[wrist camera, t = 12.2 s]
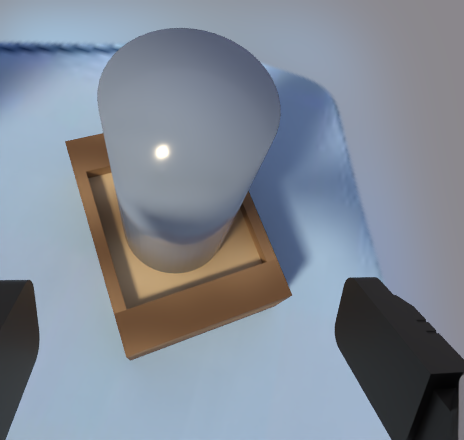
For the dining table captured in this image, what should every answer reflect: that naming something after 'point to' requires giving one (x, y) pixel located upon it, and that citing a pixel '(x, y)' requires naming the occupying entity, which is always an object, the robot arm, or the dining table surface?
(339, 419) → the dining table surface
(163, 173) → the grey domed cylinder
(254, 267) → the wooden tray
